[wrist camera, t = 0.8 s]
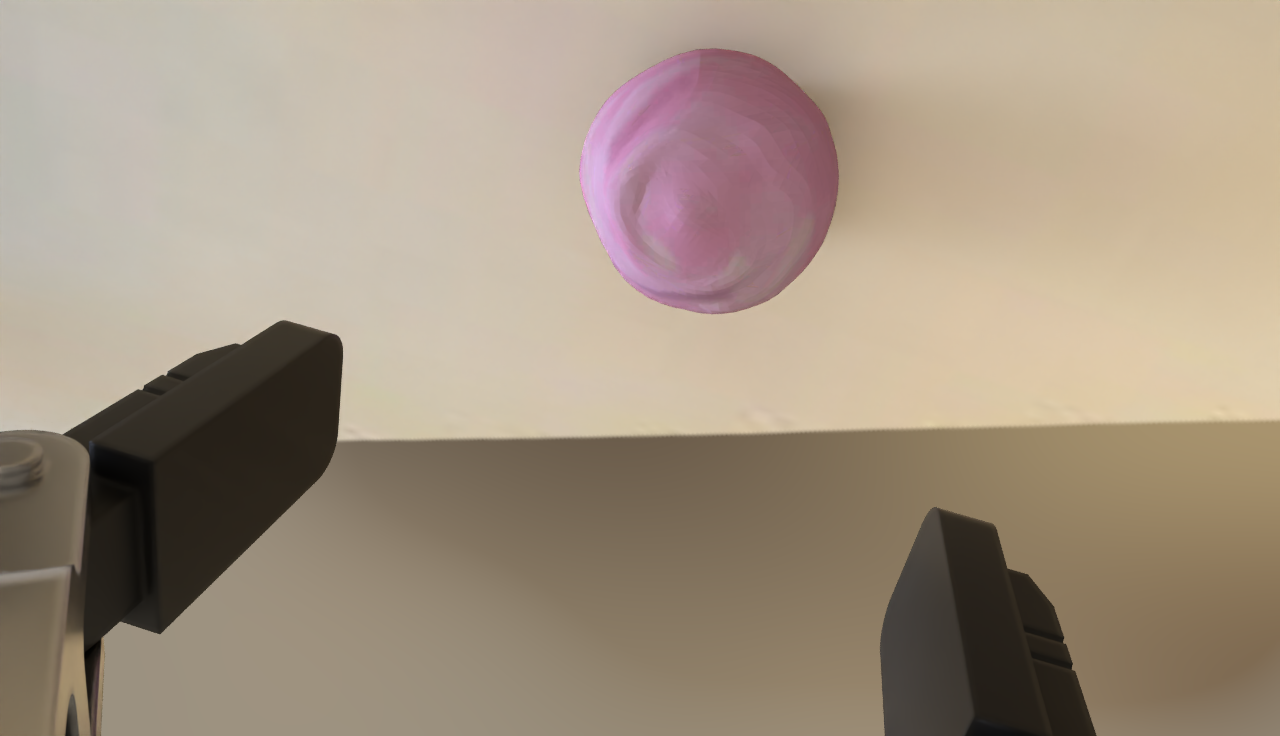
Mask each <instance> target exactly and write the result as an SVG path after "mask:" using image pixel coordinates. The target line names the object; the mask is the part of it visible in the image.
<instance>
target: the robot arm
mask: <svg viewBox="0 0 1280 736" xmlns="http://www.w3.org/2000/svg"><path fill="white" fill-rule="evenodd" d="M342 364H343V346H342V342H341V340H340V338H339V337H338V336H337V335H335V334H332V333H328V332H325V331H321V330H318V329H314V328H311V327H307V326H304V325H300V324H297V323H293V322H290V321H285V320H283V321H279V322H277V323H275V324H274V325H272V326H271V327H269V328H268V329H266V330H264V331H263V332H261V333H260V334H258V335H256V336H255V337H253V338H252V339H250V340H248V341H247V342H245V343H244V344H242V345H239V344H236V343H235V344H231V345H228V346H224V347H221V348H217V349H213V350H210V351H206V352H203V353H199V354H196V355H194V356H193V357H191V358H189V359H188V360H186V361H184V362H183V363H181V364H179V365H178V366H176V367H174V368H173V369H171V370H169V371H168V373H167V375H166V376H164V375H161V376H159V377H158V378H156V379H154V380H153V381H151V382H149V383H148V384H146V385H144V389H143V390H139V389H138V390H136V391H134V392H133V393H131V394H129V395H128V396H126V397H124V398H123V399H121V400H119V401H118V402H116V403H114V404H113V405H111V406H109V407H108V408H106V409H104V410H103V411H101V412H99V413H98V414H96V415H94V416H93V417H91V418H89V419H88V420H86V421H84V422H83V423H81V424H79V425H78V426H76V427H74V428H73V429H71V430H69V431H68V432H66V433H64V434H63V435H61V434H58V433H53V432H47V431H38V430H14V431H3V432H0V736H101V719H102V701H103V680H104V679H103V678H104V661H105V652H104V639H103V636H104V635H105V634H106V633H108V632H109V631H110V630H111V629H112V628H113V627H114V626H115V625H117V624H118V623H119V622H120V621H121V622H124V623H127V624H130V625H133V626H136V627H139V628H142V629H145V630H148V631H151V632H154V633H158V634H161V633H162V632H163V631H164V630H165V629H166V628H167V627H168V626H169V625H170V624H171V623H172V622H173V621H174V620H175V619H176V618H177V617H178V616H179V615H180V614H181V613H182V612H183V611H184V610H185V609H186V608H187V607H188V606H189V605H191V603H193V602H194V600H195V599H197V598H198V596H200V595H201V594H202V593H203V592H204V591H205V590H206V589H207V588H208V587H209V586H210V585H211V584H212V583H213V582H214V581H215V580H216V579H217V578H218V577H219V576H220V575H221V574H222V573H223V572H224V571H225V570H226V569H227V568H228V567H229V566H230V565H231V564H232V563H233V562H234V561H235V560H236V559H238V557H240V555H242V554H243V553H244V552H245V551H246V550H247V549H248V548H249V547H250V546H251V545H252V544H253V543H254V542H255V541H256V540H257V539H258V538H259V537H260V536H261V535H262V534H263V533H264V532H265V531H266V530H267V529H268V528H269V527H270V526H271V525H272V524H273V523H274V522H275V521H276V520H277V519H278V518H279V517H280V516H281V515H282V514H283V513H285V512H286V510H287V509H289V508H290V507H291V505H293V504H294V503H295V502H296V501H297V500H298V499H299V498H300V497H301V496H302V495H303V494H304V493H305V492H306V491H307V490H308V489H309V488H310V487H311V486H312V485H313V484H314V483H315V482H316V481H317V480H318V479H319V478H320V477H321V476H322V474H323V473H324V471H325V470H326V468H327V466H328V465H329V463H330V460H331V458H332V455H333V453H334V450H335V446H336V442H337V437H338V425H339V409H340V394H341V379H342ZM1063 639H1064V636H1063V633H1062V630H1061V627H1060V624H1059V621H1058V618H1057V615H1056V612H1055V609H1054V606H1053V605H1052V604H1051V603H1050V601H1049V600H1048V599H1047V597H1046V596H1045V595H1044V594H1043V593H1042V591H1041V590H1040V589H1039V588H1038V586H1037V585H1036V584H1035V583H1034V582H1033V580H1032V579H1031V578H1030V577H1029V575H1028V574H1024V573H1021V572H1017V571H1014V570H1010V569H1007V566H1006V562H1005V558H1004V555H1003V551H1002V548H1001V544H1000V540H999V537H998V533H997V529H996V527H995V526H994V524H992V523H989V522H985V521H982V520H978V519H975V518H971V517H967V516H964V515H960V514H957V513H954V512H950V511H946V510H943V509H940V508H936V507H934V508H932V509H931V510H930V511H929V512H928V514H927V515H926V517H925V519H924V521H923V523H922V525H921V528H920V530H919V533H918V535H917V537H916V540H915V542H914V544H913V547H912V549H911V552H910V554H909V557H908V559H907V561H906V563H905V566H904V568H903V571H902V573H901V576H900V578H899V580H898V582H897V585H896V587H895V590H894V592H893V594H892V597H891V599H890V602H889V604H888V607H887V611H886V614H885V618H884V623H883V628H882V633H881V642H880V655H881V674H882V691H883V709H884V728H885V736H1096V733H1095V730H1094V727H1093V724H1092V721H1091V718H1090V715H1089V712H1088V709H1087V706H1086V703H1085V700H1084V696H1083V693H1082V690H1081V687H1080V685H1079V681H1078V678H1077V675H1076V672H1075V671H1073V670H1072V665H1073V663H1072V660H1071V657H1070V654H1069V651H1068V648H1067V645H1066V644H1064V643H1063Z"/></svg>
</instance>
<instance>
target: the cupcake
mask: <svg viewBox="0 0 1280 736" xmlns="http://www.w3.org/2000/svg"><path fill="white" fill-rule="evenodd" d="M579 170H580V183H581V188H582V192H583V196H584V199H585V202H586V205H587V209H588V212H589V214H590V217H591V219H592V221H593V223H594V226H595V228H596V231H597V233H598V235H599V238H600V240H601V242H602V244H603V246H604V247H605V249H606V251H607V252H608V254H609V256H610V259H611V261H612V263H613V265H614V266H615V268H616V269H617V270H618V271H619V273H620V274H621V275H622V276H623V278H624V279H625V280H626V281H627V282H628V283H629V284H630V285H632V286H633V287H634V288H635V289H636V290H638V291H639V292H641V293H642V294H644V295H645V296H647V297H648V298H650V299H652V300H655V301H657V302H660V303H662V304H665V305H668V306H672V307H675V308H680V309H685V310H689V311H694V312H698V313H707V314H722V313H731V312H736V311H740V310H744V309H747V308H750V307H753V306H756V305H759V304H761V303H763V302H766V301H768V300H770V299H771V298H773V297H774V296H776V295H778V294H779V293H780V292H781V291H782V290H783V289H784V288H785V287H787V286H788V285H789V284H790V283H791V282H792V281H793V280H794V279H795V278H796V277H797V276H798V275H799V274H800V273H801V272H802V271H803V270H804V269H805V268H806V267H807V266H808V264H809V263H810V262H811V260H812V259H813V258H814V256H815V255H816V253H817V252H818V250H819V248H820V247H821V245H822V243H823V241H824V239H825V237H826V234H827V232H828V229H829V226H830V223H831V220H832V217H833V213H834V209H835V206H836V199H837V192H838V180H839V172H838V161H837V154H836V150H835V146H834V142H833V139H832V136H831V133H830V129H829V126H828V123H827V121H826V119H825V117H824V115H823V114H822V112H821V111H820V109H819V108H818V107H817V106H816V104H815V103H814V102H813V101H812V100H811V99H810V98H809V97H808V96H807V95H806V94H805V93H804V92H803V90H802V89H801V88H800V87H799V86H798V85H796V84H795V83H794V82H793V81H792V80H791V79H790V78H789V77H788V76H787V75H786V74H784V73H783V72H782V71H781V70H779V69H778V68H777V67H776V66H774V65H772V64H771V63H769V62H767V61H765V60H763V59H761V58H759V57H757V56H754V55H751V54H747V53H743V52H738V51H731V50H724V49H699V50H693V51H689V52H686V53H682V54H678V55H676V56H674V57H671V58H669V59H666V60H664V61H662V62H660V63H658V64H656V65H654V66H653V67H651V68H649V69H647V70H645V71H644V72H642V73H640V74H638V75H637V76H635V77H634V78H632V79H631V80H629V81H628V82H626V83H625V84H624V85H622V86H621V87H620V88H619V89H617V90H616V91H615V92H614V93H613V94H612V95H611V97H610V98H609V99H608V100H607V101H606V102H605V103H604V104H603V106H602V107H601V109H600V110H599V112H598V113H597V115H596V117H595V119H594V121H593V122H592V124H591V127H590V129H589V132H588V134H587V136H586V139H585V143H584V147H583V151H582V156H581V162H580V169H579Z"/></svg>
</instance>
